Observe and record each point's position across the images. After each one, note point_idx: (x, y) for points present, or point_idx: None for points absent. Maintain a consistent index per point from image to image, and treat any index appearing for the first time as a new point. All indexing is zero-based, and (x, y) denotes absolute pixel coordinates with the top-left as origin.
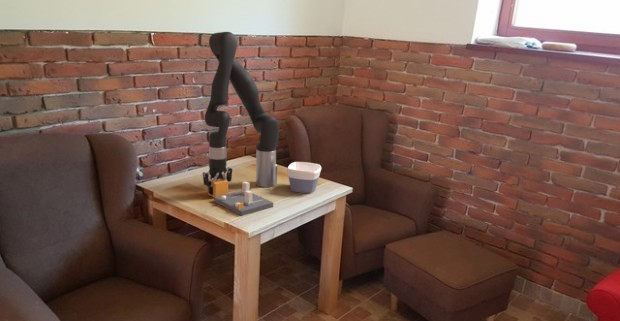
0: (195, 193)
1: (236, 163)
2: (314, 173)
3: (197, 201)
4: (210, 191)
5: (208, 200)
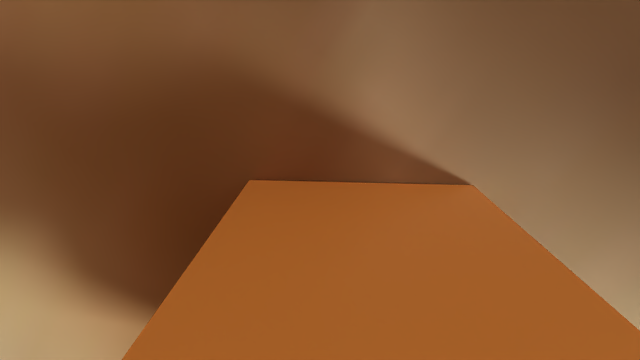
0: (96, 15)
1: None
2: None
3: (24, 306)
4: None
5: None
